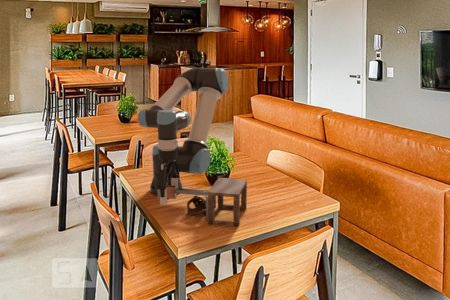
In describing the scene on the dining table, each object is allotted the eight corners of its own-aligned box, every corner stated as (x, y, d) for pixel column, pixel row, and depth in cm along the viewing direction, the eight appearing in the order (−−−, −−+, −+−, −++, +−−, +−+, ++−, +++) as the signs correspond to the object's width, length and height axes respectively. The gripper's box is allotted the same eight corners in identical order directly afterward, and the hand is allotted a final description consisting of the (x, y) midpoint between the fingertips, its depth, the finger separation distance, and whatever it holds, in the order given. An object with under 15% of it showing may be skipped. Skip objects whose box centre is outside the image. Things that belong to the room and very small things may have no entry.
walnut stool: (208, 224, 164) (207, 192, 160) (218, 206, 181) (218, 177, 177) (238, 226, 161) (238, 194, 158) (246, 209, 178) (246, 179, 175)
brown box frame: (156, 213, 171) (155, 190, 169) (166, 202, 182) (165, 180, 180) (208, 218, 166) (208, 194, 164) (215, 207, 178) (215, 184, 175)
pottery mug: (215, 216, 172) (208, 203, 167) (195, 228, 171) (187, 215, 166) (206, 199, 182) (199, 186, 177) (187, 210, 181) (179, 197, 176)
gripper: (165, 157, 157) (167, 210, 162) (186, 142, 180) (187, 188, 186) (146, 156, 158) (149, 208, 164) (169, 141, 182) (171, 187, 187)
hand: (169, 198), depth 175 cm, fingers open, 13 cm apart
